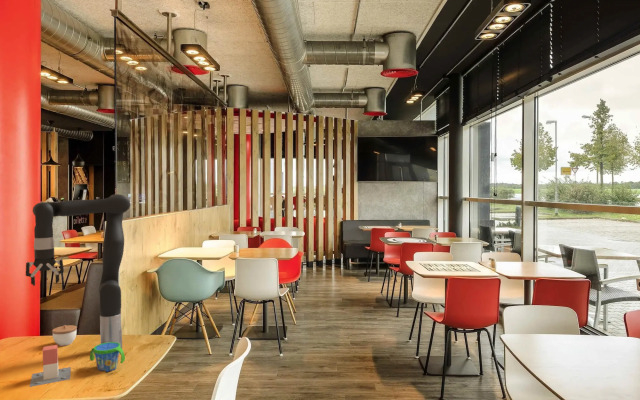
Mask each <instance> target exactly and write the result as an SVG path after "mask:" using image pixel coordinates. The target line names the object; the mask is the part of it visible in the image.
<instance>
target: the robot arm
mask: <svg viewBox="0 0 640 400" xmlns="http://www.w3.org/2000/svg"><path fill="white" fill-rule="evenodd" d="M130 207H131V201H130V199H129V197H127V196H125V195H123V194H117V193H115V194H111V195H110V196H109V197H105V198H101V199H100V198H99V199H75V200H74V199H72V200H61V201H50V202H49V201H44V202H38V203H36V204H35V205H34V206H33V207H32V213H33V215H34V217H35V218H34V220H35V225H34V229H33V230H34V231H33V233H34V239H33V240H34V242H33V251H34V252H33V253H34V261H27V262H25V277H30V284H31V285H32V286H33V287H34V286H36V275H37V273H38V272H39V271H40V272H44V271H45V272H46V271H52V272H53V273H54V274H55V276H54V277H55V284H58V283H59V282H60V274H64V271H65V270H64V260H63V258H61V259H55V258H56V257H55V241H54V229H53V228H54V227H53V224H54V223H53V222H54V217H55V218H56V217H71V216H72V217H73V216H81V215H89V214H96V213H97V214H98V213H99V214H100V213H106V214H105V215H106V216H105V217H106V219H105V220H106V222H105V228H104V235H103V236H104V237H103V243H102V244H103V246H102V272H101V277H100V283H99V287H98V293H99V326H100V327H99V332H100V333H99V334H100V335H99V337H100V344H102V343H107V342H117V343H120V348H122V349H123V330H122V288H121V287H120V281H119V279H120V278H119V277H120V276H119V274H120V273H119V272H120V266H121V264H122V261H123V258H124V257H123V256H124V251H125V248H124V247H125V235H124V234H125V233H124V228H123V218H124V217H123V216H124V213H126V212H127V211H128V210H129V209H130ZM56 264H57V265H58V266H59V270H58V269H57V268H56V267H55V265H56ZM32 266H34V267H35V269H34V270H33V271H32V273H31V272H30V271H31V270H30V269H31V267H32Z"/></svg>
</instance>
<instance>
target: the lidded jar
mask: <svg viewBox="0 0 640 400" xmlns="http://www.w3.org/2000/svg"><path fill="white" fill-rule="evenodd" d="M77 328H78V326H76V325H73V324H71V325H70V324H68V325H66V324H63V326H62V325H61V326H58V327H55V328H53V329H52V338H53V341H54V342H55V344H56V345H58V346H59V347H62V346H63V347H65V346H69V345H71V344H73V342H74V340H75V339H76V337H77V334H78V333H77V332H78V329H77Z"/></svg>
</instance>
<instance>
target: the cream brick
mask: <svg viewBox="0 0 640 400" xmlns="http://www.w3.org/2000/svg"><path fill="white" fill-rule="evenodd" d="M42 369H43V370H42V372H43V376H44V380H47V379H52V378H58V369H59V361H58V362H57V363H54V364H48V365H43V364H42Z"/></svg>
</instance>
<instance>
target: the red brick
mask: <svg viewBox="0 0 640 400" xmlns="http://www.w3.org/2000/svg"><path fill="white" fill-rule="evenodd" d="M58 346H59V345H58V344H54V345H53V344H52V345H46V346H43V347H42V366H43V365H48V364H54V363H57V362H58V363H59V352H58V351H59V350H58V349H59V348H58Z"/></svg>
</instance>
